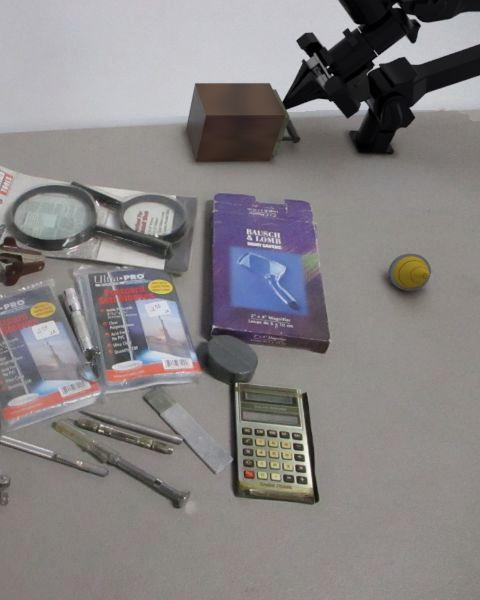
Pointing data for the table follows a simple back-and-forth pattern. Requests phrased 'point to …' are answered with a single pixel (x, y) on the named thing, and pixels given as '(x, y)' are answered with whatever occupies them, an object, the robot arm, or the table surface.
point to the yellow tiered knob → (409, 272)
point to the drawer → (285, 128)
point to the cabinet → (234, 122)
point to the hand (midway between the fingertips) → (282, 107)
